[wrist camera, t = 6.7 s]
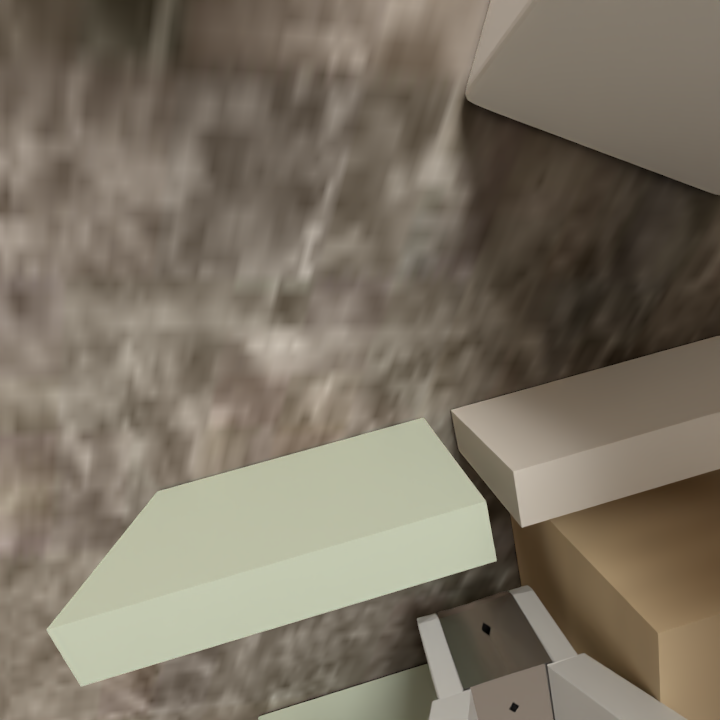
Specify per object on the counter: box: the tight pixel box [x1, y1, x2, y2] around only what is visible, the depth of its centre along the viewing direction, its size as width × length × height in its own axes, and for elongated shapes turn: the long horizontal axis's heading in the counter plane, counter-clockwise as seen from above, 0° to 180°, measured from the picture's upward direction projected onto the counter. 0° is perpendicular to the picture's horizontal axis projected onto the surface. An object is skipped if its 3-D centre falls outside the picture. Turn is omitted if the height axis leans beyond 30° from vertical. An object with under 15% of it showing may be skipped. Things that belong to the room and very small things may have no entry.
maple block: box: [510, 469, 720, 720], centre depth 8 cm, size 5×5×4 cm
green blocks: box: [47, 418, 497, 720], centre depth 8 cm, size 7×9×4 cm
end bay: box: [451, 335, 720, 528], centre depth 9 cm, size 9×9×3 cm
